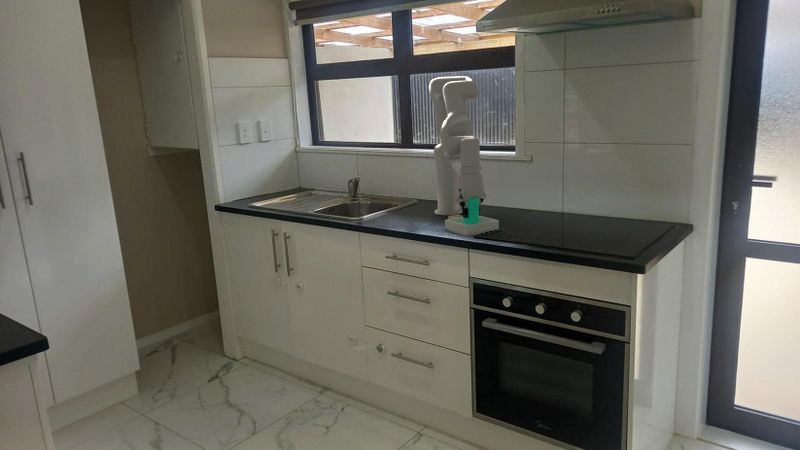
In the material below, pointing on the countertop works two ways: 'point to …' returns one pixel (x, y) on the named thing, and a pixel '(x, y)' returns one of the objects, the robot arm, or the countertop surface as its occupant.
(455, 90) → the robot arm
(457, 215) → the oak block
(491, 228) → the bin
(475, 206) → the candle
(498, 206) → the countertop surface
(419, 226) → the countertop surface
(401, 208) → the countertop surface
